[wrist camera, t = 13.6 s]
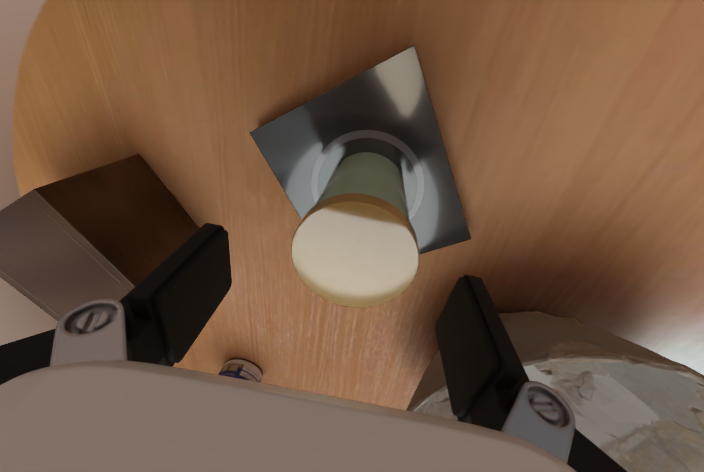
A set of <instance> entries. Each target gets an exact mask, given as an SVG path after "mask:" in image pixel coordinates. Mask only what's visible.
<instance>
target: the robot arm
mask: <svg viewBox="0 0 704 472" xmlns="http://www.w3.org/2000/svg"><path fill="white" fill-rule="evenodd" d="M231 283H232V279H231V266H230V253H229V241H228V232H227V231H226V230H224V228H223V226H220V225H215V224H210V223H206V224H205V225H203V226H202V227H201V228H200V229H199V230H198V231H197V232H196V233H195V234H193V235H192V236H191V237H190V238H189V239H188V240H187V241H186V242H184V243H183V244H182V245H181V246H180V247H179V248H178V249H177V250H176V251H174V252H173V253H172V254H171V255H170V256H169V257H168V258H167V259H166V260H164V261H163V262H162V263H161V264H160V265H159V266H158V267H157V268H156V269H154V270H153V271H152V272H151V273H150V274H149V275H148V276H147V277H146V278H144V279H143V280H142V281H141V282H140V283H139V284H138V285H137V286H136V287H134V288H133V289H132V290H131V291H130V292H129V293H128V294H127V295H126V296H124V297H123V298H122V299H121V300H120V301H117V300H113V299H97V300H92V301H89V302H86V303H83V304H81V305H78V306H76V307H74V308H72V309H71V310H70V311H68V312H67V313H65V314H64V315H63V316H62V318H61V319H60V320H59V321H58V323H57V326H56V329H53V330H50V331H47V332H43V333H40V334H37V335H34V336H30V337H27V338H24V339H21V340H17V341H15V342H11V343H8V344H5V345H1V346H0V472H627V471H626V470H625V469H624V468H623V467H621V466H620V465H619V464H618V463H617V462H615V461H614V460H613V459H612V458H611V457H609V456H608V455H607V454H606V453H605V452H603V451H602V450H601V449H600V448H599V447H597V446H596V445H595V444H594V443H592V442H591V441H590V440H589V439H588V438H586V437H585V436H584V435H583V434H582V433H580V432H579V431H578V430H577V429H576V428H575V427H576V419H575V417H574V414H573V411H572V410H571V408H570V406H569V405H568V403H567V402H566V401H565V400H564V399H563V398H562V396H561V395H559V394H558V393H557V392H556V391H555V390H553V389H552V388H550V387H549V386H547V385H545V384H543V383H540V382H537V381H530V380H529V378H528V376H527V374H526V372H525V370H524V367H523V365H522V363H521V361H520V359H519V357H518V355H517V352H516V350H515V348H514V346H513V344H512V342H511V340H510V338H509V335H508V333H507V331H506V329H505V327H504V325H503V323H502V320H501V318H500V316H499V314H498V312H497V310H496V308H495V306H494V303H493V301H492V299H491V297H490V295H489V293H488V291H487V289H486V286H485V284H484V282H483V280H482V279H481V278H480V277H476V276H471V275H464V276H463V278H462V277H460V278H459V279H458V280H457V282H456V284H455V286H454V288H453V290H452V292H451V294H450V296H449V298H448V300H447V302H446V304H445V306H444V308H443V310H442V312H441V314H440V316H439V318H438V320H437V322H436V327H435V329H436V335H437V340H438V345H439V350H440V355H441V360H442V364H443V369H444V374H445V379H446V384H447V389H448V394H449V399H450V404H451V409H452V412H453V414H454V415H455V416H457V419H458V421H454V420H450V419H445V418H440V417H436V416H431V415H426V414H421V413H416V412H411V411H406V410H401V409H395V408H390V407H385V406H380V405H375V404H370V403H365V402H360V401H355V400H349V399H344V398H339V397H334V396H328V395H323V394H318V393H313V392H307V391H302V390H297V389H292V388H286V387H281V386H276V385H270V384H265V383H260V382H254V381H249V380H243V379H238V378H233V377H227V376H222V375H216V374H211V373H206V372H200V371H194V370H188V369H182V368H176V367H172V366H173V365H174V363H175V362H176V363H178V362H180V361H181V360H182V359H183V357H184V356H185V354H186V353H187V351H188V350H189V348H190V347H191V345H192V344H193V342H194V341H195V339H196V338H197V337H198V335H199V334H200V332H201V331H202V329H203V328H204V326H205V325H206V323H207V322H208V320H209V319H210V317H211V316H212V314H213V313H214V312H215V310H216V309H217V307H218V306H219V304H220V303H221V301H222V300H223V298H224V297H225V295H226V294H227V292H228V291H229V289H230V287H231Z"/></svg>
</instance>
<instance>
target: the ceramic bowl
mask: <svg viewBox="0 0 704 472" xmlns="http://www.w3.org/2000/svg"><path fill="white" fill-rule="evenodd" d="M498 314H499V316H500V318H501V320H502V323H503V325H504V327H505V329H506V331H507V333H508V335H509V338H510V340H511V342H512V344H513V346H514V348H515V350H516V352H517V355H518V357H519V359H520V361H521V363H522V365H523V367H524V370H525V372H526V374H527V376H528V378H529V380H530V381H537V382H540V383H543V384H545V385H547V386H549V387H550V388H552V389H553V390H555V391H556V392H557V393H558V394H559V395H561V396H562V398H563V399H564V400H565V401H566V402H567V403H568V405H569V406H570V408H571V410H572V411H573V414H574V417H575V419H576V427H575V428H576V429H577V430H578V431H579V432H580V433H582V434H583V435H584V436H585V437H586V438H588V439H589V440H590V441H591V442H592V443H594V444H595V445H596V446H597V447H599V448H600V449H601V450H602V451H603V452H605V453H606V454H607V455H608V456H609V457H611V458H612V459H613V460H614V461H615V462H617V463H618V464H619V465H620V466H621V467H623V468H624V469H625V470H626V471H627V472H704V376H703V375H702V374H700V373H698V372H696V371H695V370H693V369H691V368H689V367H687V366H685V365H683V364H680V363H677V362H674V361H671V360H669V359H667V358H665V357H663V356H661V355H659V354H657V353H655V352H653V351H651V350H649V349H647V348H644V347H642V346H640V345H637V344H635V343H633V342H630V341H628V340H626V339H623V338H621V337H619V336H616V335H614V334H612V333H609V332H606V331H603V330H600V329H596V328H593V327H590V326H586V325H583V324H581V323H580V322H579V321H577V320H575V319H574V318H570V317H562V318H561V317H557V316H552V315H547V314H545V313H543V312H538V311H534V312H515V313H498ZM406 411H411V412H416V413H421V414H426V415H431V416H436V417H440V418H445V419H450V420H454V421H458V419H457V416H455V415H454V414H453V412H452V409H451V404H450V399H449V394H448V389H447V384H446V379H445V374H444V369H443V364H442V360H441V355H440V350H438V352H437V353H436V355H435V356H434V358H433V359H432V361H431V362H430V364H429V366H428V367H427V369H426V371H425V373H424V375H423V377H422V379H421V381H420V383H419V385H418V387H417V389H416V391H415V393H414V395H413V397H412V399H411V402H410V404H409V406H408V408H407V410H406Z"/></svg>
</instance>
